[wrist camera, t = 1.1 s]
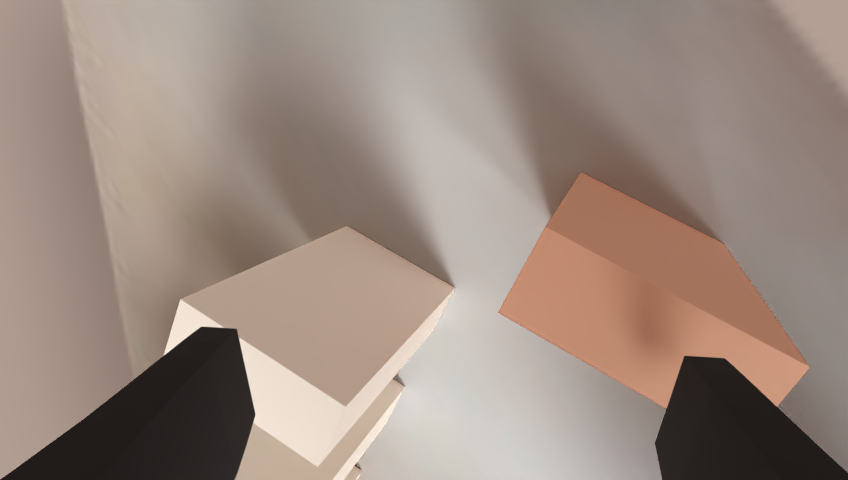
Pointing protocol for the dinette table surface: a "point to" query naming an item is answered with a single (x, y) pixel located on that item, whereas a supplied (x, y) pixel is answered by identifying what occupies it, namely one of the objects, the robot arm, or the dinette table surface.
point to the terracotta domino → (646, 297)
